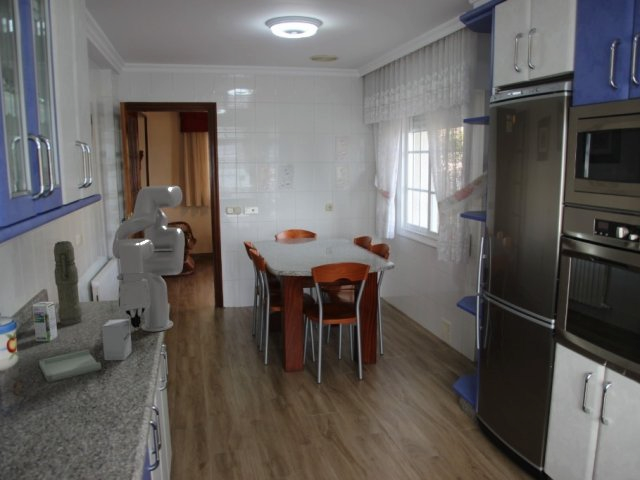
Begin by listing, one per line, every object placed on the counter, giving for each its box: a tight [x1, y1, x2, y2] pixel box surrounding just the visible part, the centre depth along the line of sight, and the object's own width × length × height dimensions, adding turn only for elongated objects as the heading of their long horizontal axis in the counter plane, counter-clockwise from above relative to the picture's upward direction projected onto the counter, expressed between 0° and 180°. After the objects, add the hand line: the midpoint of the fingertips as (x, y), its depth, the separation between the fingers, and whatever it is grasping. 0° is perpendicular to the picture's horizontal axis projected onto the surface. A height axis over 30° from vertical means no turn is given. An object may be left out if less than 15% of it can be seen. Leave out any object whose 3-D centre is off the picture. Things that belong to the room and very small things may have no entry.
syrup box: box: [32, 301, 58, 342], centre depth 202 cm, size 6×6×14 cm
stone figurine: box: [53, 240, 83, 326], centre depth 220 cm, size 9×12×35 cm
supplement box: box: [101, 319, 133, 361], centre depth 184 cm, size 7×7×13 cm
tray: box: [38, 348, 102, 384], centre depth 175 cm, size 16×16×2 cm
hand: (136, 326), depth 187 cm, fingers closed
